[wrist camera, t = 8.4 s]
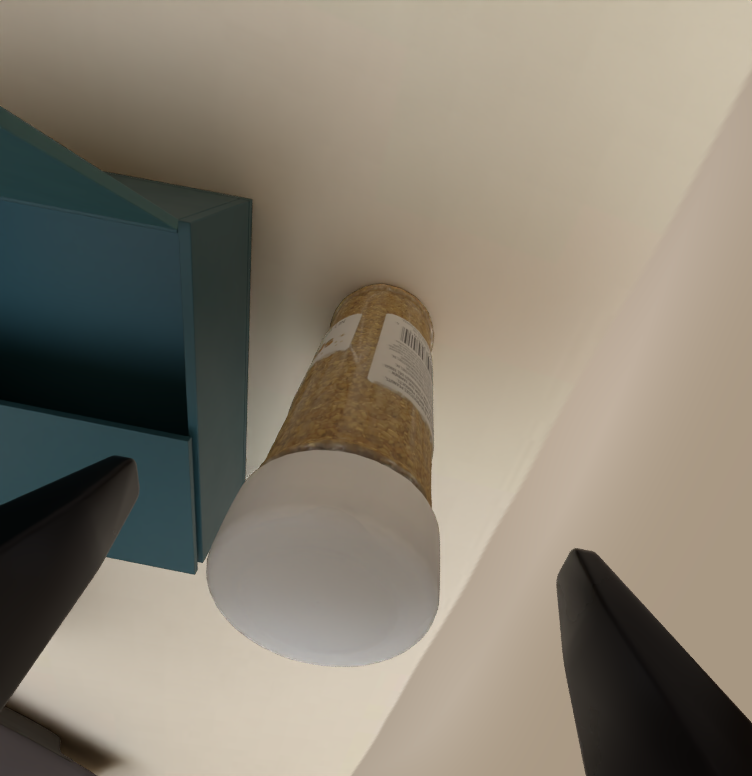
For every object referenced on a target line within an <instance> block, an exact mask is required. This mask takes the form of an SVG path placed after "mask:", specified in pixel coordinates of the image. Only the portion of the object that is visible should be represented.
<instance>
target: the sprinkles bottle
mask: <svg viewBox="0 0 752 776" xmlns="http://www.w3.org/2000/svg"><path fill="white" fill-rule="evenodd" d="M433 341H434V332H433V325H432V322H431V319H430V316H429V313H428V311H427V310H426V308H425V307H424V306H423V305H422V303H421V302H420V301H419V300H418V299H417V298H416V297H415V296H413V295H412V294H410V293H409V292H407V291H405V290H403V289H401V288H398V287H394V286H390V285H385V284H375V285H370V286H366V287H363V288H361V289H359V290H358V291H355V292H353V293H352V294H350V295H348V296H347V297H346V298H345V299H344V300H343V301H342V302H341V303H340V305H339V306H338V308H337V309H336V311H335V313H334V315H333V318H332V321H331V324H330V330H329V331H328V332H327V334H326V335H325V337H324V338H323V340H322V342H321V344H320V346H319V348H318V350H317V352H316V354H315V356H314V359H313V361H312V363H311V365H310V367H309V369H308V371H307V373H306V375H305V377H304V379H303V381H302V383H301V385H300V387H299V389H298V391H297V393H296V395H295V397H294V399H293V401H292V404H291V407H290V410H289V413H288V416H287V418H286V420H285V422H284V424H283V426H282V428H281V430H280V432H279V433H278V435H277V438H276V440H275V442H274V444H273V446H272V448H271V449H270V451H269V454H268V456H267V458H266V459H265V461H264V462H263V463H262V464H261V466H260V467H259V469H258V470H256V471H255V472H254V473H253V474H252V475H251V476H250V477H249V478H248V479H247V480H246V481H245V482H244V484H243V485H242V487H241V488H240V490H239V492H238V494H237V495H236V497H235V499H234V501H233V503H232V505H231V507H230V509H229V511H228V513H227V514H226V516H225V518H224V520H223V523H222V525H221V527H220V529H219V531H218V533H217V535H216V537H215V539H214V541H213V544H212V546H211V549H210V552H209V555H208V559H207V570H206V573H207V582H208V587H209V590H210V593H211V595H212V597H213V599H214V601H215V603H216V605H217V607H218V609H219V610H220V612H221V613H222V614H223V616H224V617H225V618H226V619H227V620H228V621H229V622H230V623H231V624H232V625H233V626H234V627H235V628H236V629H237V630H238V631H239V632H241V633H242V634H243V635H245V636H246V637H247V638H249V639H250V640H252V641H253V642H255V643H256V644H258V645H260V646H261V647H263V648H265V649H267V650H269V651H272V652H274V653H276V654H278V655H280V656H283V657H286V658H289V659H292V660H296V661H300V662H304V663H309V664H315V665H320V666H332V667H356V666H363V665H370V664H374V663H378V662H382V661H385V660H388V659H391V658H393V657H395V656H397V655H399V654H402V653H404V652H405V651H407V650H408V649H410V648H411V647H412V646H414V645H415V644H416V643H417V642H418V641H420V640H421V639H422V638H423V636H424V635H425V634H426V633H427V632H428V630H429V628H430V626H431V625H432V623H433V620H434V618H435V615H436V613H437V610H438V605H439V592H440V536H439V527H438V523H437V520H436V517H435V514H434V512H433V510H432V501H431V467H432V463H431V462H432V457H433V450H434V428H433V364H432V356H431V351H432V347H433Z"/></svg>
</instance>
